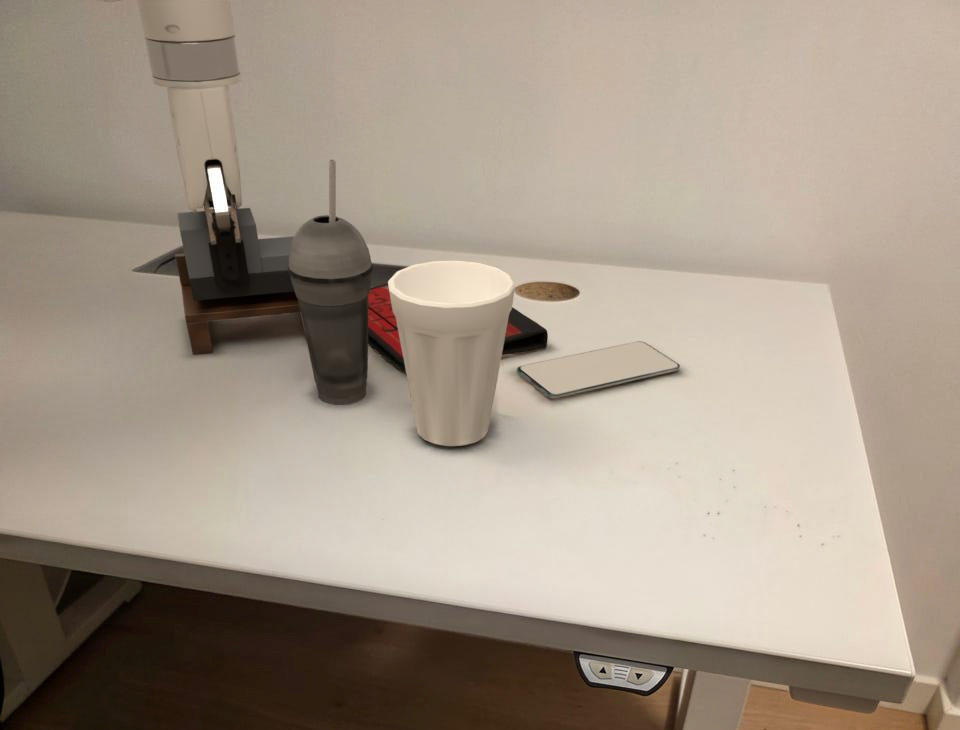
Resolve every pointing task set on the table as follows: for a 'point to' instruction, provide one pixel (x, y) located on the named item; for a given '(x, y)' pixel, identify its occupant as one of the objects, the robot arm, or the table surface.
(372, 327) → the binder
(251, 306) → the bench
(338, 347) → the beverage cup
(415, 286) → the cup
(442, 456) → the table surface
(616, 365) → the smartphone
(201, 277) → the stepped block on base
